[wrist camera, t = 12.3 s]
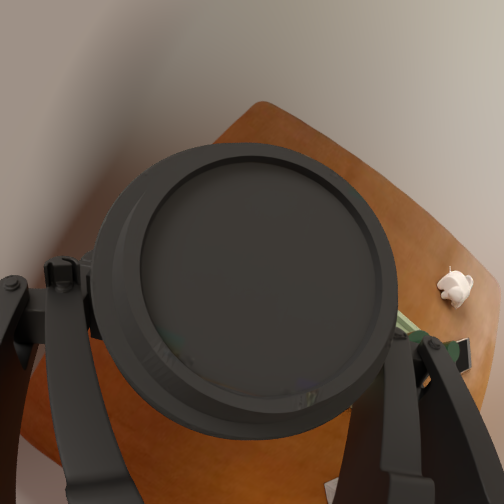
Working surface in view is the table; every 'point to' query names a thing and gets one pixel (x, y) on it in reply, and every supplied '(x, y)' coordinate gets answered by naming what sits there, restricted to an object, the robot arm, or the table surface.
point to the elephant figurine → (455, 287)
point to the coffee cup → (244, 290)
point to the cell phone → (463, 355)
